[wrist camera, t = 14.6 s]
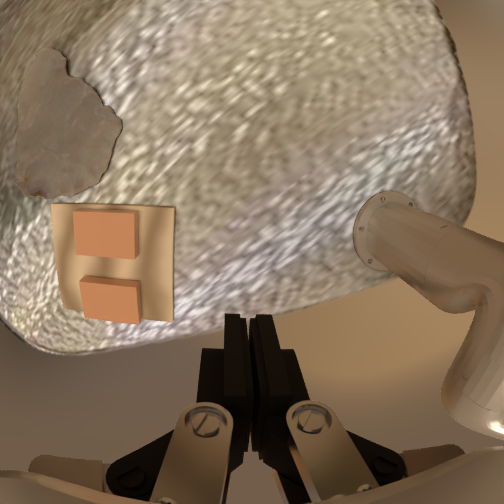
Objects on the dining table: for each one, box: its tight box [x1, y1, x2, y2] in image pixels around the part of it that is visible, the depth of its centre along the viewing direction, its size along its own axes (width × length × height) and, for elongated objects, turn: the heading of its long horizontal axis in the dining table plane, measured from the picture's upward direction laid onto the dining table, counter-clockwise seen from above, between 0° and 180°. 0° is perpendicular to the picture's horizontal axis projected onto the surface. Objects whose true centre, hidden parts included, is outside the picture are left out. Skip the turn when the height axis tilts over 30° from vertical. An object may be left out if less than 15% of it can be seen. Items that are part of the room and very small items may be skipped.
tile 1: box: [73, 208, 139, 260], centre depth 34 cm, size 2×6×9 cm
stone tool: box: [14, 46, 122, 199], centre depth 29 cm, size 20×3×25 cm
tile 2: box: [79, 276, 142, 325], centre depth 37 cm, size 2×6×9 cm
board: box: [51, 203, 175, 322], centre depth 37 cm, size 19×17×1 cm
